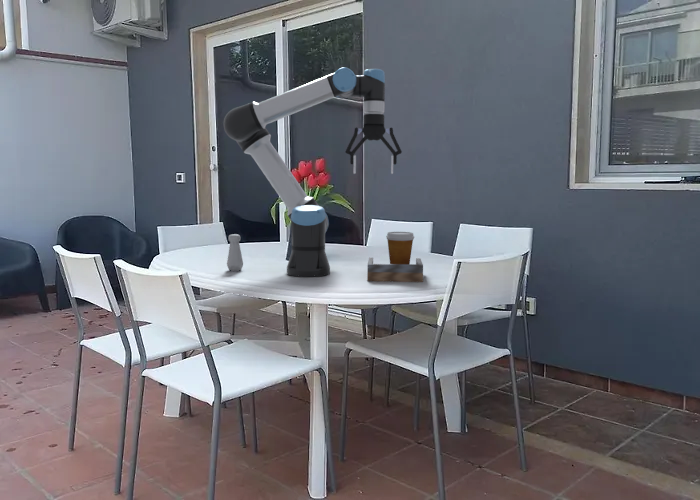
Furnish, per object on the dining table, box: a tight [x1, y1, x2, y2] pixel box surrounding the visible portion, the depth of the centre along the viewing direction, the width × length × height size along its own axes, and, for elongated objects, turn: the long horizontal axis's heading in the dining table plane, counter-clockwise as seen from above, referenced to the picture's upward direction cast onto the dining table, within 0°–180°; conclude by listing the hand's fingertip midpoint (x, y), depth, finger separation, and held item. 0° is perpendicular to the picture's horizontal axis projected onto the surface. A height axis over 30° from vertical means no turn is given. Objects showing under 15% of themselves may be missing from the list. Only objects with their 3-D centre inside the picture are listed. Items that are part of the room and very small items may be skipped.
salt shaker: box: [226, 233, 244, 272], centre depth 215 cm, size 6×6×13 cm
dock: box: [366, 257, 424, 283], centre depth 203 cm, size 18×16×6 cm
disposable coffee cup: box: [386, 231, 415, 264], centre depth 203 cm, size 10×10×12 cm
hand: (373, 173), depth 218 cm, fingers open, 13 cm apart
